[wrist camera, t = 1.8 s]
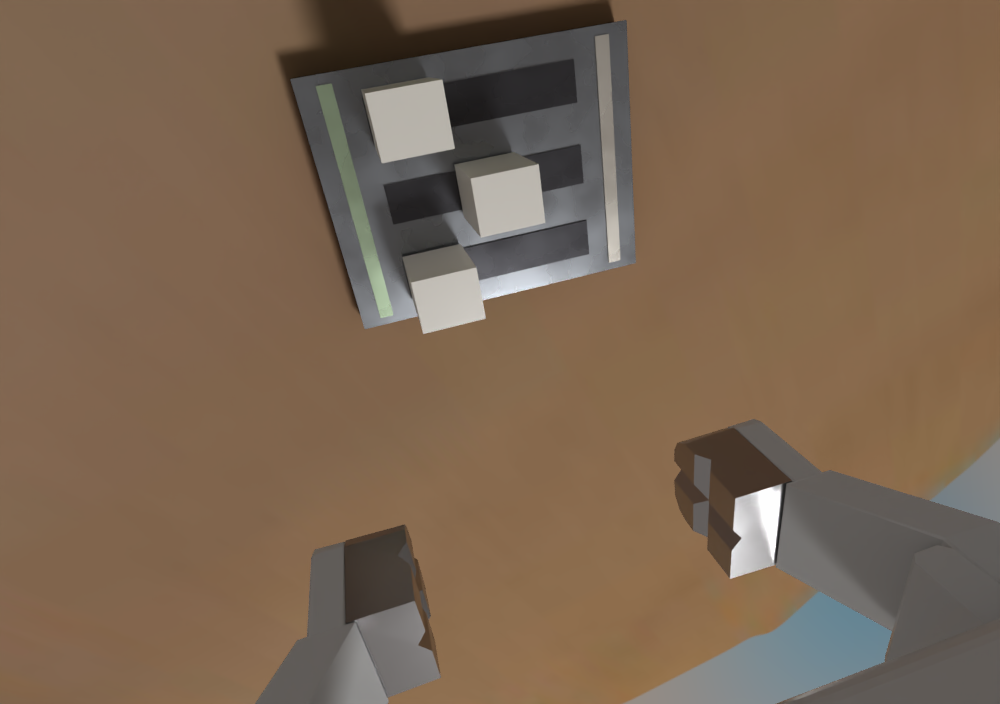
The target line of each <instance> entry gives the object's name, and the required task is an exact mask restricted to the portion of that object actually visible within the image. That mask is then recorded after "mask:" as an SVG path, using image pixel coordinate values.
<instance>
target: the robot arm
mask: <svg viewBox="0 0 1000 704" xmlns="http://www.w3.org/2000/svg"><path fill="white" fill-rule="evenodd" d="M674 461H675V462H676V464H677V465H678V466H679V467H680V468H681V471H680V472H679V474H678V475H677V477H676V479H675V480H674V482H675V496H676V499H677V502H678V506H679V509H680V511H681V513H682V515H683V517H684V518H685V520H686V522H687V523H688V524H689V526H690V527H691V528H692V530H693V531H695V532H697V533H700V534H702V535H704V536H706V537H708V545H707V550H708V551H709V552H710V553H711V555H712V556H713V557H714V559H715V560H716V561H717V562H718V564H719V565H720V566H721V568H722V569H723V570H724V571H725V573H726V574H727V575H728V577H729V578H730V579H731V578H734V577H737V576H741V575H744V574H747V573H750V572H754V571H757V570H760V569H763V568H767V567H770V566H773V565H776V567H777V568H778V569H780V570H782V571H784V572H786V573H787V574H789V575H791V576H793V577H795V578H796V579H798V580H800V581H802V582H804V583H806V584H807V585H809V586H811V587H813V588H815V589H816V590H818V591H820V592H822V593H824V594H826V595H827V596H829V597H831V598H833V599H835V600H836V601H838V602H840V603H842V604H844V605H846V606H847V607H849V608H851V609H853V610H855V611H856V612H858V613H860V614H862V615H864V616H866V617H867V618H869V619H871V620H873V621H874V622H876V623H878V624H880V625H882V626H884V627H885V628H887V629H889V630H891V631H892V634H891V638H890V641H889V645H888V648H887V652H886V655H885V662H884V663H881V664H879V665H876V666H873V667H871V668H868V669H866V670H863V671H860V672H858V673H855V674H853V675H850V676H848V677H845V678H842V679H839V680H837V681H834V682H832V683H829V684H826V685H824V686H821V687H819V688H816V689H813V690H811V691H808V692H805V693H803V694H800V695H798V696H795V697H793V698H790V699H787V700H785V701H782V702H780V703H777V704H1000V523H999V522H996V521H993V520H990V519H986V518H983V517H980V516H977V515H973V514H970V513H967V512H964V511H961V510H957V509H954V508H951V507H948V506H944V505H941V504H938V503H935V502H931V501H928V500H925V499H922V498H919V497H915V496H912V495H909V494H906V493H902V492H899V491H896V490H893V489H889V488H886V487H883V486H880V485H876V484H873V483H870V482H867V481H864V480H860V479H857V478H854V477H851V476H847V475H844V474H841V473H838V472H834V471H831V470H829V471H825V472H821V471H820V470H819V469H817V468H816V467H815V466H814V465H813V464H811V463H810V462H809V461H808V460H807V459H805V458H804V457H803V456H802V455H801V454H799V453H798V452H797V451H796V450H795V449H793V448H792V447H791V446H790V445H789V444H787V443H786V442H785V441H784V440H783V439H781V438H780V437H779V436H778V435H777V434H775V433H774V432H773V431H772V430H771V429H769V428H768V427H767V426H766V425H765V424H763V423H762V422H761V421H758V420H755V419H752V420H749V421H746V422H743V423H740V424H736V425H733V426H730V427H728V428H725V429H721V430H718V431H715V432H712V433H708V434H705V435H702V436H699V437H695V438H692V439H689V440H686V441H682V442H679V443H677V445H676V448H675V453H674ZM430 616H431V615H430V610H429V604H428V599H427V594H426V590H425V585H424V581H423V577H422V574H421V570H420V567H419V563H418V560H417V559H416V558H414V553H413V547H412V541H411V538H410V535H409V532H408V530H407V527H406V525H401V526H397V527H394V528H390V529H386V530H383V531H379V532H375V533H372V534H368V535H364V536H361V537H357V538H353V539H350V540H346V542H342V543H338V544H334V545H330V546H327V547H323V548H319V549H315V550H314V553H313V555H312V558H311V574H310V592H309V611H308V629H307V637H306V638H303V639H300V640H297V642H296V643H295V645H294V646H293V648H292V649H291V651H290V652H289V654H288V655H287V657H286V658H285V660H284V661H283V663H282V664H281V666H280V667H279V669H278V670H277V672H276V673H275V675H274V676H273V678H272V679H271V681H270V682H269V684H268V685H267V687H266V688H265V690H264V691H263V693H262V694H261V696H260V697H259V699H258V700H257V702H256V703H255V704H388V697H390V696H393V695H396V694H398V693H401V692H404V691H406V690H409V689H412V688H414V687H417V686H420V685H422V684H425V683H428V682H430V681H433V680H436V679H438V678H441V676H440V669H439V663H438V657H437V651H436V645H435V639H434V636H433V633H432V630H431V626H430V623H429V618H430Z"/></svg>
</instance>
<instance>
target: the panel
mask: <svg viewBox="0 0 1000 704" xmlns="http://www.w3.org/2000/svg"><path fill="white" fill-rule="evenodd" d="M427 77H430V78H436V79H442V80H443V86H444V91H445V97H446V102H447V108H448V113H449V119H450V124H451V130H452V135H453V141H454V146H455V149H451V150H446V151H441V152H436V153H431V154H426V155H421V156H416V157H411V158H406V159H401V160H397V161H392V162H387V163H381V160H380V158H379V156H378V154H377V152H376V148H375V144H374V140H373V136H372V132H371V128H370V124H369V120H368V116H367V112H366V108H365V104H364V99H363V95H362V91H361V89H367V88H372V87H378V86H383V85H389V84H394V83H400V82H405V81H411V80H416V79H422V78H427ZM290 80H291V84H292V87H293V90H294V94H295V97H296V100H297V104H298V107H299V110H300V114H301V117H302V120H303V124H304V127H305V130H306V134H307V137H308V140H309V144H310V147H311V151H312V154H313V157H314V161H315V164H316V167H317V171H318V174H319V177H320V181H321V184H322V187H323V191H324V194H325V197H326V201H327V204H328V207H329V211H330V214H331V217H332V221H333V224H334V228H335V231H336V234H337V238H338V241H339V244H340V248H341V251H342V254H343V258H344V261H345V264H346V268H347V271H348V274H349V278H350V281H351V284H352V288H353V291H354V294H355V298H356V301H357V305H358V308H359V311H360V315H361V318H362V321H363V325H364V328H365V329H367V328H371V327H376V326H380V325H384V324H388V323H392V322H396V321H400V320H404V319H408V318H412V317H416V316H418V315H417V312H416V309H415V306H414V303H413V299H412V295H411V290H410V286H409V282H408V278H407V274H406V270H405V266H404V262H403V258H402V257H405V256H409V255H413V254H418V253H422V252H427V251H431V250H435V249H440V248H444V247H449V246H453V245H457V244H461V245H462V247H463V248H464V250H465V251H466V253H467V254H468V256H469V257H470V259H471V260H472V262H473V263H474V264H475V266H476V268H477V273H478V279H479V284H480V290H481V295H482V300H486V299H490V298H494V297H498V296H502V295H506V294H511V293H515V292H519V291H523V290H527V289H531V288H535V287H539V286H543V285H547V284H552V283H556V282H560V281H564V280H568V279H572V278H576V277H580V276H584V275H588V274H592V273H597V272H601V271H605V270H609V269H613V268H617V267H621V266H625V265H629V264H633V263H636V258H635V232H634V206H633V179H632V153H631V127H630V101H629V74H628V48H627V22H626V20H624V21H617V22H611V23H606V24H600V25H594V26H589V27H583V28H577V29H571V30H566V31H560V32H554V33H549V34H543V35H537V36H532V37H526V38H520V39H514V40H509V41H503V42H497V43H492V44H486V45H480V46H475V47H469V48H463V49H457V50H452V51H446V52H440V53H435V54H429V55H423V56H418V57H412V58H406V59H400V60H395V61H389V62H383V63H378V64H372V65H366V66H361V67H355V68H349V69H343V70H338V71H332V72H326V73H321V74H315V75H309V76H304V77H298V78H292V79H290ZM512 152H515V153H517V154H519V155H521V156H523V157H525V158H527V159H529V160H531V161H533V162H535V163H537V164H539V171H540V180H541V189H542V198H543V206H544V215H545V223H543V224H539V225H535V226H530V227H526V228H521V229H517V230H513V231H508V232H504V233H499V234H495V235H491V236H486V237H482V238H481V237H480V236H479V235H478V234H477V232H476V231H475V230H474V229H473V228H472V226H471V225H470V224H469V223H468V222H467V220H466V219H465V218H464V215H463V209H462V204H461V199H460V193H459V188H458V182H457V177H456V171H455V166H454V164H459V163H464V162H469V161H473V160H478V159H483V158H488V157H493V156H498V155H502V154H507V153H512Z"/></svg>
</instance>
